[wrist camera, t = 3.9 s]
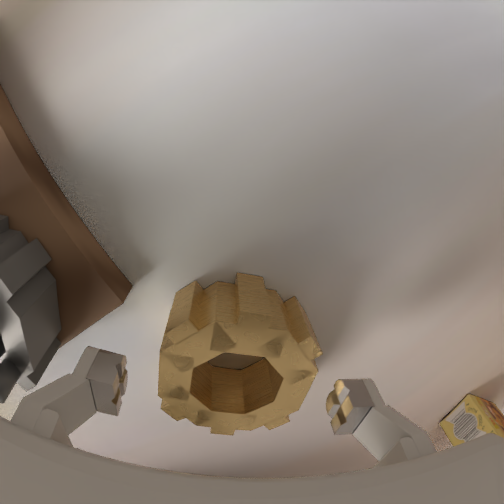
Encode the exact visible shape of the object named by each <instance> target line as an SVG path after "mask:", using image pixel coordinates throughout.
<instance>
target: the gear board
mask: <svg viewBox="0 0 504 504" xmlns="http://www.w3.org/2000/svg"><path fill="white" fill-rule="evenodd" d="M0 215H5V216H8V222H9V229H12V230H17V231H21V233H22V234H23V236H24V237H25V239H26V240H27V241H28V243H30V242H31V241H33V240H34V239H36V238H37V239H38V241H39V242H40V243H41V245H42V246H43V248H44V249H45V250H46V252H47V253H48V254H49V256H50V257H51V258H52V260H51V261H50V262H49V263H48V264H47V265H46V268H47V269H48V270H49V272H50V273H51V274H52V275H53V277H54V278H55V279H56V288H57V298H58V307H59V315H60V322H61V331H60V332H59V334H58V335H57V337H56V338H57V339H58V340H59V341H60V342H61V343H62V344H61V345H60V347H62V346H63V345H64V344H66V343H67V342H69V341H70V340H71V339H73V338H74V337H76V336H77V335H78V334H80V333H81V332H83V331H84V330H85V329H87V328H88V327H90V326H91V325H93V324H94V323H95V322H97V321H98V320H100V319H101V318H103V317H104V316H106V315H107V314H108V313H110V312H111V311H113V310H114V309H116V308H117V307H119V306H120V305H122V304H123V303H124V301H125V299H126V297H127V295H128V294H129V292H130V290H131V288H132V284H131V283H130V282H129V281H128V280H127V278H126V277H125V276H124V275H123V274H122V272H121V271H120V270H119V269H118V267H117V266H116V265H115V264H114V262H113V261H112V260H111V259H110V257H109V256H108V255H107V254H106V252H105V251H104V250H103V248H102V247H101V246H100V245H99V243H98V242H97V241H96V239H95V238H94V237H93V235H92V234H91V233H90V231H89V230H88V229H87V227H86V226H85V224H84V223H83V222H82V220H81V219H80V218H79V216H78V215H77V213H76V212H75V210H74V209H73V208H72V206H71V205H70V203H69V202H68V200H67V199H66V197H65V196H64V194H63V193H62V191H61V190H60V188H59V187H58V185H57V184H56V182H55V181H54V179H53V178H52V176H51V175H50V173H49V171H48V170H47V168H46V167H45V165H44V163H43V162H42V160H41V159H40V157H39V155H38V154H37V152H36V150H35V149H34V147H33V145H32V143H31V142H30V140H29V138H28V136H27V135H26V133H25V131H24V129H23V128H22V126H21V124H20V122H19V120H18V118H17V116H16V115H15V113H14V111H13V109H12V107H11V105H10V103H9V101H8V99H7V97H6V95H5V93H4V91H3V89H2V86H1V84H0ZM0 335H1V333H0ZM60 347H59V348H60ZM59 348H58V349H59Z"/></svg>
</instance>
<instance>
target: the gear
mask: <svg viewBox="0 0 504 504" xmlns="http://www.w3.org/2000/svg"><path fill="white" fill-rule="evenodd" d="M51 260H52V258H51V257H50V256H49V254H48V253H47V252H46V250H45V249H44V248H43V246H42V245H41V243H40V242H39V241H38V239H37V238H36V239H34V240H33V241H31V242H30V243H28V241H27V240H26V239H25V237H24V236H23V234H22V233H21V231H17V230H12V229H9V222H8V216H5V215H0V333H1V335H0V403H4V402H5V400H6V399H7V397H8V395H9V394H10V392H11V390H12V389H13V387H14V385H15V384H17V383H18V384H19V385H20V386H21V387H22V388H23V389H24V390H25V391H26V392H27V391H28V390H30V389H32V388H33V387H35V386H36V385H37V383H38V382H39V380H40V378H41V376H42V375H43V373H44V371H45V370H46V368H47V366H48V365H49V363H50V361H51V360H52V358H53V356H54V355H55V353H56V352H57V350H58V348H59V347H60V345H61V344H62V343H61V342H60V341H59V340H58V339H57V338H56V337H57V335H58V334H59V332H60V331H61V322H60V315H59V307H58V298H57V288H56V279H55V278H54V277H53V275H52V274H51V273H50V272H49V270H48V269H47V268H46V265H47V264H48V263H49V262H50V261H51Z"/></svg>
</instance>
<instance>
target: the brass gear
mask: <svg viewBox="0 0 504 504" xmlns="http://www.w3.org/2000/svg"><path fill="white" fill-rule="evenodd" d="M224 352H227V353H235V354H243V355H251V356H260V357H265V358H264V359H262V360H260V361H259V362H257V363H255V364H253V365H251V366H249V367H247V368H245V369H243V370H236V369H228V368H220V367H213V366H212V365H211V364H210V363H209V362H208V361H209V360H210V359H212V358H214V357H216V356H218V355H220V354H222V353H224ZM322 354H323V353H322V351H321V348H320V346H319V343H318V341H317V338H316V336H315V334H314V331H313V329H312V326H311V324H310V322H309V319H308V317H307V315H306V312H305V311H304V309H303V308H302V306H301V305H300V303H299V302H298V300H297V299H296V297H295V296H294V297H292V298H291V299H289V300H287V301H286V302H284V301H283V300H282V299H281V297H280V296H279V294H278V293H277V291H275V290H268V289H265V285H264V281H263V277H260V276H254V275H248V274H242V273H237V275H236V280H235V284H231V283H225V282H219V281H217V282H215V283H214V284H212V285H210V286H209V287H207V288H206V289H204V290H203V288H202V287H201V286H200V285H199V283H198V282H197V281H194V282H192V283H191V284H189V285H188V286H186V287H184V288H183V289H181V290H180V291H178V292H176V295H175V298H174V302H173V305H172V309H171V311H170V315H169V319H168V322H167V326H166V330H165V333H164V337H163V341H162V345H161V349H160V359H159V381H158V396H159V397H160V398H162V404H161V409H162V410H163V411H164V412H166V413H167V414H168V415H170V416H171V417H172V418H174V419H175V420H176V421H178V420H181V419H184V418H187V419H188V420H190V421H191V422H192V423H194V424H195V425H196V426H205V427H211V433H213V434H223V435H233V434H234V432H235V430H250V431H251V430H253V429H256V428H258V427H261V426H263V425H264V426H265V427H266V428H268V429H269V430H271V429H273V428H276V427H278V426H280V425H283V424H285V423H287V422H290V420H289V416H288V415H289V414H291V413H293V412H295V411H298V410H299V408H300V406H301V404H302V402H303V400H304V398H305V396H306V394H307V393H308V391H309V389H310V386H311V384H312V382H313V380H314V378H315V376H316V374H317V372H318V369H317V366H316V363H315V360H314V359H315V358H316V357H318V356H320V355H322Z"/></svg>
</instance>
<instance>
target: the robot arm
mask: <svg viewBox="0 0 504 504" xmlns="http://www.w3.org/2000/svg"><path fill="white" fill-rule="evenodd" d="M126 363H127V361H126V356H125V355H121V354H117V353H113V352H110V351H106V350H102V349H97V348H94V347H90V346H88V347H87V348H86V349H85V350H84V352H83V354H82V356H81V358H80V360H79V362H78V364H77V366H76V368H75V370H74V372H73V373H72V374H67V375H65V376H63V377H61V378H59V379H57V380H56V381H54V382H52V383H50V384H48V385H46V386H44V387H42V388H40V389H39V390H37V391H35V392H33V393H31V394H29V395H27V396H25V397H23V399H22V400H21V402H20V404H19V406H18V408H17V410H16V412H15V413H14V415H13V417H12V419H11V421H9V420H7V419H5V418H3V417H1V416H0V504H504V438H502V437H500V436H498V435H496V434H494V433H487V434H485V435H482V436H480V437H478V438H475V439H473V440H470V441H467V442H465V443H462V444H459V445H457V446H454V447H451V448H448V449H445V450H442V451H439V452H437V451H436V449H435V447H434V445H433V443H432V441H431V440H430V438H429V436H428V434H427V432H426V431H424V430H423V429H421V428H420V427H418V426H417V425H416V424H414V423H413V422H411V421H410V420H408V419H407V418H406V417H404V416H403V415H401V414H400V413H398V412H397V411H396V410H394V409H393V408H391V407H390V406H389V405H388V406H386V405H385V403H384V401H383V399H382V397H381V395H380V393H379V391H378V389H377V387H376V385H375V383H374V381H373V380H372V379H339V380H337V381H336V383H335V384H334V388H335V390H333V391H332V392H331V393H329V395H328V397H327V401H326V410H327V413H328V415H329V416H331V417H332V420H331V422H330V423H331V426H332V429H333V432H334V435H340V434H352V435H353V436H354V437H355V438H356V439H357V440H358V441H359V442H360V443H361V444H362V445H363V446H364V447H365V448H366V449H367V450H368V451H369V452H370V453H371V454H372V455H373V456H374V457H375V458H376V459H377V460H378V461H379V462H378V463H377V464H376V465H375V466H374V467H373V468H370V469H365V470H359V471H352V472H345V473H338V474H329V475H319V476H307V477H290V478H237V477H220V476H208V475H198V474H189V473H181V472H174V471H168V470H162V469H156V468H151V467H145V466H141V465H136V464H131V463H127V462H123V461H119V460H115V459H111V458H107V457H103V456H100V455H96V454H93V453H90V452H86V451H83V450H80V449H77V448H74V447H73V445H72V443H71V441H70V439H69V437H68V435H69V434H70V433H72V432H73V431H74V430H75V429H77V428H78V427H79V426H80V425H82V424H83V423H84V422H85V421H87V420H88V419H89V418H90V417H92V416H93V415H94V414H95V413H96V411H98V412H102V413H106V414H111V415H115V416H118V414H119V411H120V407H121V404H122V400H121V396H123V395H124V394H125V391H126V387H127V378H128V374H127V370H126V369H125V366H126Z"/></svg>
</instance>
